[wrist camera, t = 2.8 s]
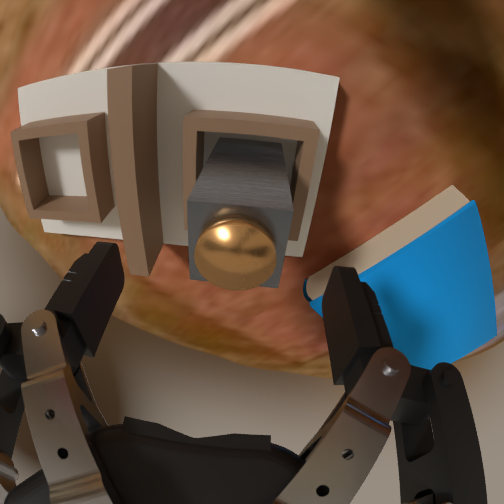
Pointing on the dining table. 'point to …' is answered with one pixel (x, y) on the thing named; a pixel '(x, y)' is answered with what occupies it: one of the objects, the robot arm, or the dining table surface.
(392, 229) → the book
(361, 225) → the dining table surface
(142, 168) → the plate
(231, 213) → the peg
